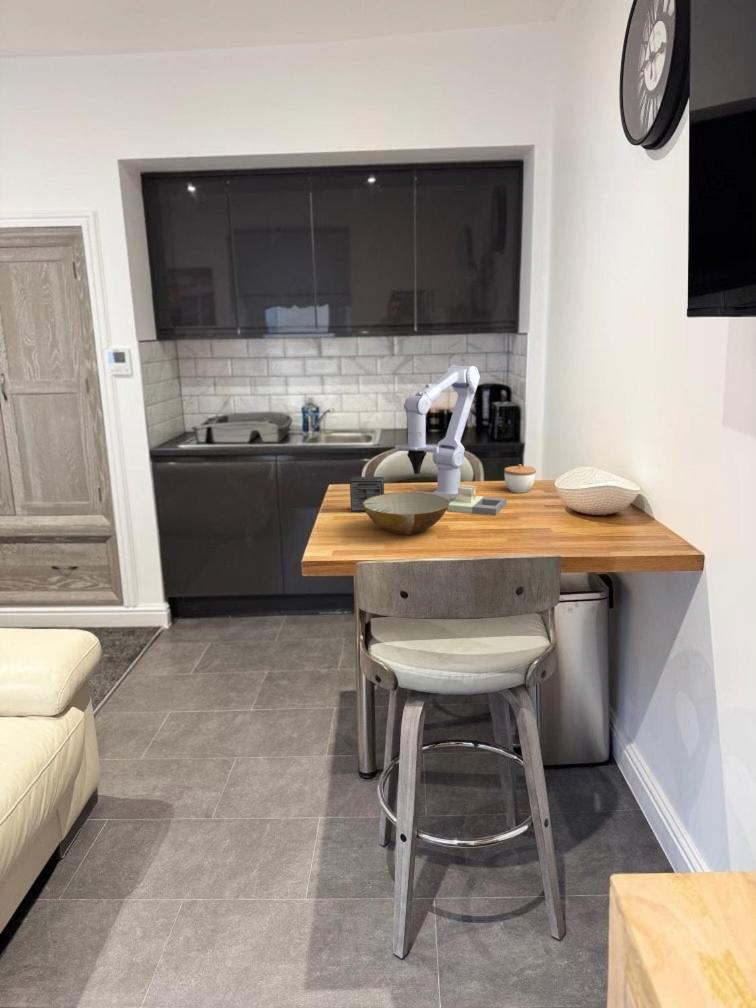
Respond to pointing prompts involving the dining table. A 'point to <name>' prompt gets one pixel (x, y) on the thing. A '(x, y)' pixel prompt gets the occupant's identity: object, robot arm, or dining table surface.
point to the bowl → (405, 511)
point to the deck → (477, 506)
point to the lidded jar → (519, 478)
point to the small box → (364, 490)
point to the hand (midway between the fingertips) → (417, 473)
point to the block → (466, 493)
